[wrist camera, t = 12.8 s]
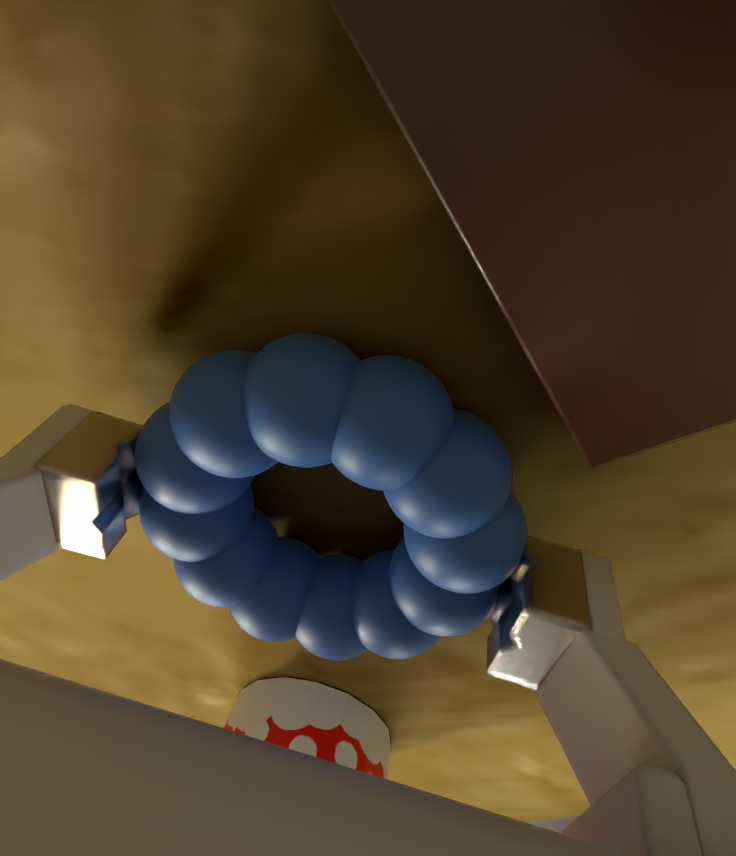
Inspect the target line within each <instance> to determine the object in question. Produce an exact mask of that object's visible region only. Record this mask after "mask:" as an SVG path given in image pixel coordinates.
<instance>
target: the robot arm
mask: <svg viewBox="0 0 736 856" xmlns="http://www.w3.org/2000/svg"><path fill="white" fill-rule="evenodd" d="M142 427H143V426H142V425H139V424H136V423H133V422H129V421H126V420H123V419H120V418H117V417H113V416H110V415H107V414H104V413H101V412H95V411H92V410H89V409H86V408H82V407H79V406H76V405H73V404H70V405H66V406H62V407H61V408H60V409H59V410H57V411H56V412H55V413H54V414H53V415H52V416H50V417H49V418H48V419H47V420H46V421H44V422H43V423H42V424H41V425H40V426H38V427H37V428H36V429H35V430H34V431H33V432H31V433H30V434H29V435H28V436H27V437H25V438H24V439H23V440H22V441H21V442H20V443H18V444H17V445H16V446H15V447H14V448H12V449H11V450H10V451H9V452H8V453H7V454H5V455H4V456H3V457H2V458H0V581H1V580H3V579H5V578H6V577H8V576H10V575H12V574H14V573H16V572H17V571H19V570H21V569H23V568H25V567H27V566H29V565H30V564H32V563H34V562H36V561H38V560H40V559H41V558H43V557H45V556H47V555H49V554H51V553H53V552H54V551H56V550H58V547H61V548H65V549H68V550H72V551H76V552H79V553H83V554H87V555H91V556H94V557H98V558H102V559H106V558H107V557H108V555H109V554H110V553H111V551H112V550H113V549H114V547H115V546H116V545H117V544H118V542H119V541H120V540H121V538H122V537H123V536H124V534H125V533H126V532H127V529H126V519H129V518H131V517H133V516H136V515H138V514H139V502H140V497H141V493H142V490H143V488H144V486H143V485H142V483H141V481H140V479H139V476H138V473H137V470H136V465H135V447H136V442H137V438H138V436H139V433H140V431H141V429H142ZM489 618H490V619H491V621H492V623H493V624H494V628H493V629H492V631H491V633H490V635H489V637H488V639H487V674H489V675H492V676H495V677H498V678H501V679H504V680H508V681H511V682H514V683H517V684H520V685H523V686H526V687H529V688H532V689H535V690H536V692H535V693H536V695H537V697H538V699H539V701H540V703H541V705H542V707H543V709H544V711H545V713H546V715H547V717H548V719H549V721H550V723H551V725H552V727H553V730H554V732H555V734H556V736H557V738H558V740H559V742H560V744H561V746H562V748H563V750H564V752H565V754H566V756H567V758H568V760H569V762H570V764H571V766H572V768H573V770H574V772H575V774H576V776H577V778H578V780H579V782H580V784H581V786H582V789H583V791H584V793H585V795H586V797H587V799H588V801H589V803H590V805H591V807H589V808H588V809H587V810H586V811H585V812H584V813H583V814H581V815H580V816H579V817H578V818H577V819H576V820H575V821H573V822H572V823H571V824H570V825H569V826H568V827H566V829H564V830H563V831H562V834H561V833H558V832H554V831H551V830H548V829H545V828H541V827H538V826H535V825H532V824H529V823H525V822H522V821H519V820H516V819H513V818H509V817H506V816H503V815H500V814H496V813H493V812H490V811H487V810H484V809H480V808H477V807H474V806H471V805H468V804H464V803H461V802H458V801H455V800H452V799H448V798H445V797H442V796H439V795H436V794H432V793H429V792H426V791H423V790H420V789H416V788H413V787H410V786H407V785H404V784H400V783H397V782H394V781H391V780H388V779H384V778H381V777H378V776H375V775H372V774H368V773H365V772H362V771H359V770H356V769H352V768H349V767H346V766H343V765H340V764H336V763H333V762H330V761H327V760H324V759H320V758H317V757H314V756H311V755H308V754H304V753H301V752H298V751H295V750H292V749H288V748H285V747H282V746H279V745H276V744H272V743H269V742H266V741H263V740H260V739H256V738H253V737H250V736H247V735H244V734H240V733H237V732H234V731H231V730H227V729H224V728H221V727H218V726H215V725H211V724H208V723H205V722H202V721H199V720H195V719H192V718H189V717H186V716H182V715H179V714H176V713H173V712H170V711H166V710H163V709H160V708H157V707H154V706H150V705H147V704H144V703H141V702H137V701H134V700H131V699H128V698H125V697H121V696H118V695H115V694H112V693H109V692H105V691H102V690H99V689H96V688H92V687H89V686H86V685H83V684H80V683H76V682H73V681H70V680H67V679H64V678H60V677H57V676H54V675H51V674H47V673H44V672H41V671H38V670H35V669H31V668H28V667H25V666H22V665H19V664H15V663H12V662H9V661H6V660H2V659H0V856H736V770H735V769H734V768H733V767H732V765H731V764H730V763H729V762H728V760H727V759H726V758H725V757H724V755H723V754H722V753H721V751H720V750H719V749H718V748H717V746H716V745H715V744H714V743H713V741H712V740H711V739H710V738H709V736H708V735H707V734H706V733H705V731H704V730H703V729H702V727H701V726H700V725H699V724H698V722H697V721H696V720H695V719H694V717H693V716H692V715H691V714H690V712H689V711H688V710H687V708H686V707H685V706H684V705H683V703H682V702H681V701H680V700H679V698H678V697H677V696H676V695H675V693H674V692H673V691H672V689H671V688H670V687H669V686H668V684H667V683H666V682H665V681H664V679H663V678H662V677H661V676H660V674H659V673H658V672H657V671H656V669H655V668H654V667H653V665H652V664H651V663H650V662H649V660H648V659H647V658H646V657H645V655H644V654H643V653H642V652H641V650H640V649H639V648H638V646H637V645H636V644H634V643H631V642H628V641H626V636H625V631H624V626H623V621H622V616H621V611H620V606H619V601H618V596H617V591H616V586H615V581H614V576H613V571H612V566H611V562H610V561H609V559H608V558H607V557H605V556H601V555H597V554H593V553H590V552H586V551H582V550H579V549H577V550H576V549H574V548H571V547H567V546H563V545H560V544H556V543H552V542H549V541H545V540H542V539H538V538H534V537H531V536H527V541H526V545H525V548H524V550H523V554H522V557H521V560H520V562H519V565H518V566H517V568H516V569H515V570H514V572H513V573H512V574H511V575H510V576H509V577H508V578H507V579H506V580H505V581H503V582H502V583H501V584H500V589H499V593H498V598H497V602H496V605H495V608H494V610H493V611H492V613H491V614H490V616H489Z"/></svg>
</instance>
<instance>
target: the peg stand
mask: <svg viewBox="0 0 736 856" xmlns="http://www.w3.org/2000/svg"><path fill="white" fill-rule="evenodd" d="M329 2H330V4H331V5H332V7H333V9H334V11H335V13H336V14H337V16H338V18H339V20H340V22H341V23H342V25H343V27H344V29H345V31H346V32H347V34H348V36H349V38H350V40H351V41H352V43H353V45H354V47H355V49H356V50H357V52H358V54H359V56H360V57H361V59H362V61H363V63H364V65H365V66H366V68H367V70H368V72H369V74H370V75H371V77H372V79H373V81H374V83H375V84H376V86H377V88H378V90H379V92H380V93H381V95H382V97H383V99H384V101H385V102H386V104H387V106H388V108H389V110H390V111H391V113H392V115H393V117H394V119H395V120H396V122H397V124H398V126H399V127H400V129H401V131H402V133H403V135H404V136H405V138H406V140H407V142H408V144H409V145H410V147H411V149H412V151H413V153H414V154H415V156H416V158H417V160H418V162H419V163H420V165H421V167H422V169H423V171H424V172H425V174H426V176H427V178H428V180H429V181H430V183H431V185H432V187H433V189H434V190H435V192H436V194H437V196H438V198H439V199H440V201H441V203H442V205H443V206H444V208H445V210H446V212H447V214H448V215H449V217H450V219H451V221H452V223H453V224H454V226H455V228H456V230H457V232H458V233H459V235H460V237H461V239H462V241H463V242H464V244H465V246H466V248H467V250H468V251H469V253H470V255H471V257H472V259H473V260H474V262H475V264H476V266H477V268H478V269H479V271H480V273H481V275H482V276H483V278H484V280H485V282H486V284H487V285H488V287H489V289H490V291H491V293H492V294H493V296H494V298H495V300H496V302H497V303H498V305H499V307H500V309H501V311H502V312H503V314H504V316H505V318H506V320H507V321H508V323H509V325H510V327H511V329H512V330H513V332H514V334H515V336H516V338H517V339H518V341H519V343H520V345H521V346H522V348H523V350H524V352H525V354H526V355H527V357H528V359H529V361H530V363H531V364H532V366H533V368H534V370H535V372H536V373H537V375H538V377H539V379H540V381H541V382H542V384H543V386H544V388H545V390H546V391H547V393H548V395H549V397H550V399H551V400H552V402H553V404H554V406H555V408H556V409H557V411H558V413H559V415H560V416H561V418H562V420H563V422H564V424H565V425H566V427H567V429H568V431H569V433H570V434H571V436H572V438H573V440H574V442H575V443H576V445H577V447H578V449H579V451H580V452H581V454H582V456H583V458H584V460H585V461H586V463H587V465H588V466H589V467H591V468H595V467H598V466H601V465H604V464H608V463H611V462H614V461H617V460H620V459H623V458H626V457H629V456H632V455H635V454H638V453H641V452H644V451H647V450H650V449H653V448H656V447H659V446H662V445H666V444H669V443H672V442H675V441H678V440H681V439H684V438H687V437H690V436H693V435H696V434H699V433H702V432H705V431H708V430H711V429H714V428H717V427H720V426H724V425H727V424H730V423H733V422H736V0H329Z"/></svg>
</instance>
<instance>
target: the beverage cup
mask: <svg viewBox="0 0 736 856" xmlns="http://www.w3.org/2000/svg"><path fill="white" fill-rule="evenodd" d="M223 728H224V729H227V730H231V731H234V732H237V733H240V734H244V735H247V736H250V737H253V738H256V739H260V740H263V741H266V742H269V743H272V744H276V745H279V746H282V747H285V748H288V749H292V750H295V751H298V752H301V753H304V754H308V755H311V756H314V757H317V758H320V759H324V760H327V761H330V762H333V763H336V764H340V765H343V766H346V767H349V768H352V769H356V770H359V771H362V772H365V773H368V774H372V775H375V776H378V777H381V778H384V779H387V773H388V764H389V755H390V746H391V745H390V737H389V730H388V728H387V726H386V725H385V724H384V723H383V722H382V720H381V719H380V718H379V717H378V715H377V714H376V713H375V712H374V710H372V709H371V708H369V707H367V706H366V705H364V704H363V703H361V702H360V701H358V700H357V699H355V698H354V697H352V696H351V695H349V694H347V693H345V692H342V691H339V690H336V689H334V688H331V687H328V686H326V685H323V684H320V683H317V682H313V681H306V680H299V679H292V678H286V677H281V678H273V679H264V680H257V681H255V682H254V683H252V684H250V685H249V686H247V687H245V688H243V689H242V690H241V691H240V693H239V695H238V697H237V699H236V701H235V704H234V706H233V708H232V710H231V712H230V714H229V716H228V718H227V720H226V722H225V724H224V727H223Z"/></svg>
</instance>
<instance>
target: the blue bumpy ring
mask: <svg viewBox="0 0 736 856" xmlns="http://www.w3.org/2000/svg"><path fill="white" fill-rule="evenodd" d="M278 462H281V463H283V464H286V465H290V466H295V467H307V468H309V467H317V466H322V465H326V464H329V463H333V464H334V466H335V467H336V468H337V469H338V470H339V471H340V472H341V473H342V474H343V475H344V476H346V477H347V478H349V479H350V480H352V481H354V482H355V483H357V484H359V485H362V486H364V487H367V488H371V489H376V490H383V491H384V494H385V497H386V499H387V501H388V503H389V505H390V507H391V509H392V510H393V512H394V513H395V514H396V515H397V516H398V518H399V519H400V520H401V521H402V522H404V537H403V538H402V539H401V541H400V542H399V543H398V545H397V546H396V548H395V549H390V550H385V551H381V552H379V553H376V554H374V555H372V556H371V557H369V558H368V559H366V560H365V561H363V560H361V559H359V558H356V557H354V556H350V555H344V554H333V555H328V556H324V557H321V558H319V556H318V555H317V554H316V553H315V552H314V551H313V550H312V549H311V548H310V547H309V546H307V545H306V544H304V543H302V542H300V541H298V540H295V539H291V538H286V537H278V534H277V532H276V529H275V527H274V526H273V524H272V522H271V521H270V520H269V519H268V517H267V516H266V515H265V514H264V513H262V512H261V511H260V510H258V509H257V508H255V507H254V498H253V492H252V488H251V486H250V484H251V482H252V480H253V478H254V476H255V475H256V474H259V473H262V472H264V471H266V470H268V469H270V468H271V467H272V466H274V465H275V464H277V463H278ZM135 465H136V470H137V473H138V476H139V479H140V481H141V483H142V485H143V486H144V488H143V490H142V493H141V497H140V502H139V515H140V521H141V524H142V527H143V530H144V532H145V534H146V535H147V537H148V539H149V540H150V541H151V543H152V544H153V545H154V546H155V547H156V548H157V549H159V550H160V551H161V552H163V553H164V554H166V555H168V556H170V557H172V558H174V566H175V571H176V574H177V576H178V579H179V581H180V582H181V584H182V586H183V587H184V588H185V590H186V591H187V592H188V593H189V594H190V595H192V596H193V597H194V598H195V599H197V600H199V601H200V602H202V603H205V604H208V605H211V606H216V607H229V609H230V611H231V613H232V616H233V617H234V619H235V621H236V622H237V623H238V625H239V626H240V627H241V628H242V629H243V630H245V631H246V632H247V633H248V634H250V635H252V636H253V637H255V638H258V639H261V640H264V641H271V642H281V641H286V640H290V639H293V638H297V640H298V641H299V642H300V643H301V645H302V646H303V647H304V648H305V649H307V650H308V651H309V652H311V653H313V654H314V655H316V656H318V657H321V658H324V659H328V660H346V659H350V658H353V657H356V656H358V655H360V654H362V653H364V652H365V651H366V650H370V651H371V652H373V653H375V654H377V655H379V656H382V657H385V658H390V659H407V658H411V657H415V656H417V655H420V654H422V653H423V652H425V651H427V650H428V649H430V648H431V647H432V646H433V645H434V644H435V643H436V642H437V641H438V639H439V638H440V637H441V636H446V637H449V636H457V635H461V634H465V633H467V632H470V631H472V630H473V629H475V628H477V627H478V626H480V625H481V624H482V623H483V622H484V621H485V620H486V619H487V618H488V617H489V616H490V614H491V613H492V611H493V610H494V608H495V605H496V602H497V598H498V593H499V589H500V584H501V583H502V582H503V581H505V580H506V579H507V578H508V577H509V576H510V575H511V574H512V573H513V572H514V570H515V569H516V568H517V566H518V565H519V562H520V560H521V557H522V554H523V550H524V548H525V545H526V541H527V527H526V520H525V517H524V514H523V511H522V508H521V506H520V504H519V502H518V501H517V499H516V497H515V496H514V495H513V493H512V492H511V491H510V489H511V484H512V465H511V459H510V456H509V453H508V450H507V447H506V446H505V444H504V442H503V440H502V439H501V437H500V436H499V434H498V433H497V432H496V431H495V430H494V429H493V427H492V426H490V425H489V424H488V423H487V422H485V421H484V420H483V419H481V418H480V417H478V416H476V415H474V414H472V413H469V412H466V411H463V410H458V409H453V407H452V402H451V400H450V397H449V395H448V393H447V391H446V389H445V387H444V386H443V384H442V383H441V382H440V380H439V379H438V378H437V377H436V376H435V375H434V374H433V373H432V372H431V371H430V370H428V369H427V368H426V367H424V366H423V365H421V364H420V363H418V362H416V361H413V360H411V359H408V358H405V357H400V356H394V355H380V356H374V357H369V358H366V359H363V360H361V361H360V360H359V359H358V357H357V356H356V355H355V354H354V353H353V352H352V351H351V350H350V349H349V348H347V347H346V346H345V345H343V344H342V343H340V342H338V341H337V340H334V339H332V338H330V337H327V336H324V335H319V334H313V333H297V334H291V335H288V336H285V337H281V338H279V339H277V340H275V341H273V342H271V343H269V344H268V345H266V346H265V347H264V348H262V349H261V350H260V351H259V352H258V353H257V354H255V353H252V352H247V351H241V350H228V351H221V352H217V353H214V354H211V355H208V356H206V357H204V358H202V359H200V360H199V361H197V362H196V363H194V364H193V365H192V366H191V367H190V368H188V369H187V371H186V372H185V373H184V374H183V375H182V376H181V378H180V379H179V381H178V382H177V384H176V386H175V388H174V391H173V393H172V397H171V401H170V402H169V403H167V404H165V405H163V406H162V407H160V408H159V409H158V410H156V411H155V412H154V413H153V414H152V415H151V416H150V417H149V418H148V420H147V421H146V422H145V424H144V425H143V427H142V429H141V431H140V433H139V436H138V438H137V442H136V447H135Z"/></svg>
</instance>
